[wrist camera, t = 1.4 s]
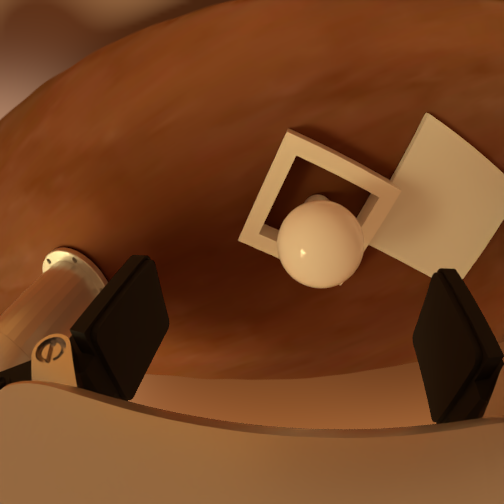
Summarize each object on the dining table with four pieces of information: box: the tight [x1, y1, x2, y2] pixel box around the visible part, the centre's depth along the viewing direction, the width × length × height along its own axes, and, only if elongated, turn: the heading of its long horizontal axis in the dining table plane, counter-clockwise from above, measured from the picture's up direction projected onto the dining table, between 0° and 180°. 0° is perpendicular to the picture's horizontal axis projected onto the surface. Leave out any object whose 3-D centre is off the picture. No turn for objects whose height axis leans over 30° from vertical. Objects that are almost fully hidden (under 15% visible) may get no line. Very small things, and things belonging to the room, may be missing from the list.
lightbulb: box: [277, 194, 364, 288], centre depth 24 cm, size 6×6×11 cm
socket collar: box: [238, 128, 401, 285], centre depth 28 cm, size 11×11×2 cm
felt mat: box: [369, 113, 504, 279], centre depth 26 cm, size 14×14×1 cm
